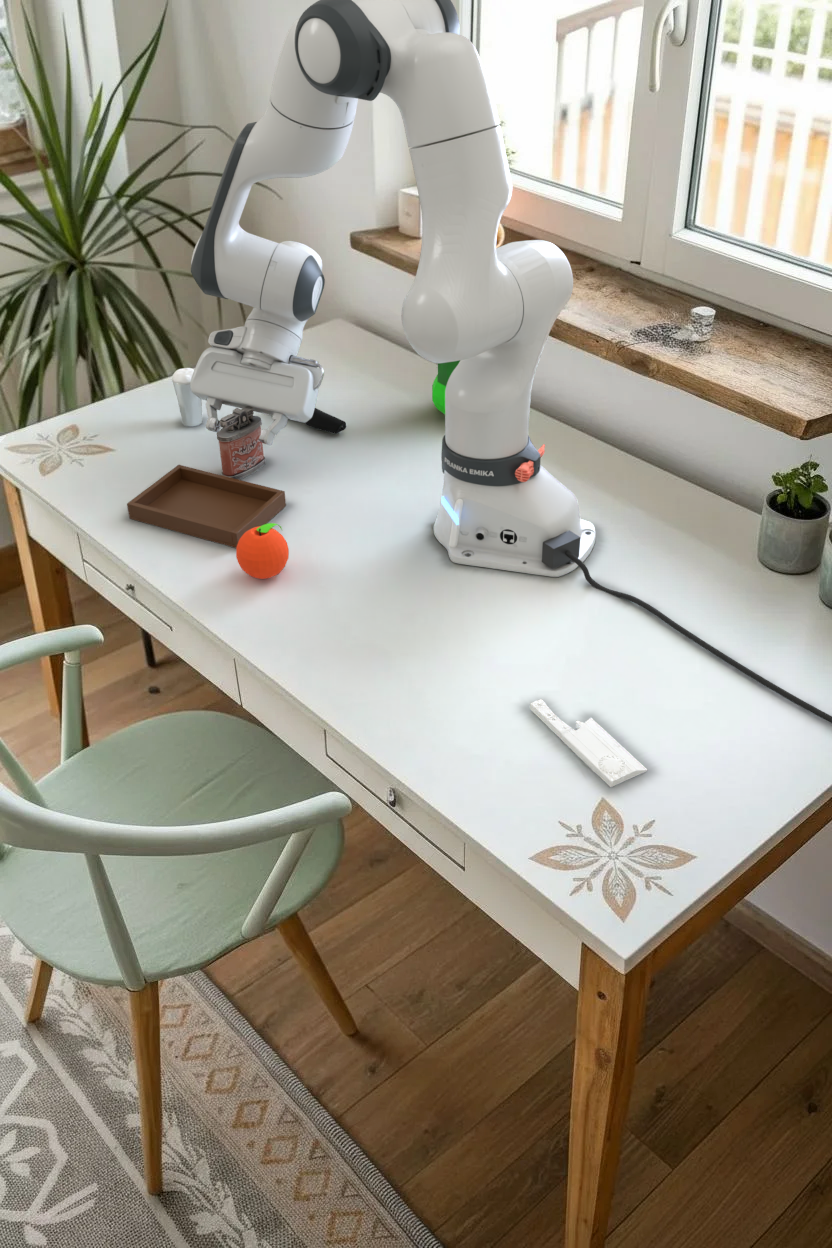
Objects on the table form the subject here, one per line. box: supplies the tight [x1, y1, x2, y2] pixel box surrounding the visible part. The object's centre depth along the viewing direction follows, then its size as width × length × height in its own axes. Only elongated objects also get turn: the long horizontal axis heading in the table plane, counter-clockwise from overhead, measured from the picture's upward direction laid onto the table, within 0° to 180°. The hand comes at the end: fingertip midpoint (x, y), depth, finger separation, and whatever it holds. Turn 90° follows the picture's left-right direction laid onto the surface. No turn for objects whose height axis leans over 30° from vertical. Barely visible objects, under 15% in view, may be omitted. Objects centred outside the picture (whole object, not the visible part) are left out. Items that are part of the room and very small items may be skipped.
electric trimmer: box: [304, 407, 347, 435], centre depth 196 cm, size 4×16×3 cm, turn 47°
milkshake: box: [171, 367, 204, 428], centre depth 195 cm, size 5×5×10 cm
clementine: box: [235, 522, 290, 580], centre depth 160 cm, size 8×7×7 cm
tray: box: [126, 464, 287, 549], centre depth 174 cm, size 19×13×2 cm
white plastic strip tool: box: [529, 698, 648, 788], centre depth 134 cm, size 5×15×1 cm, turn 30°
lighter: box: [216, 406, 267, 480], centre depth 182 cm, size 8×3×10 cm, turn 141°
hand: (237, 436), depth 181 cm, fingers open, 8 cm apart
